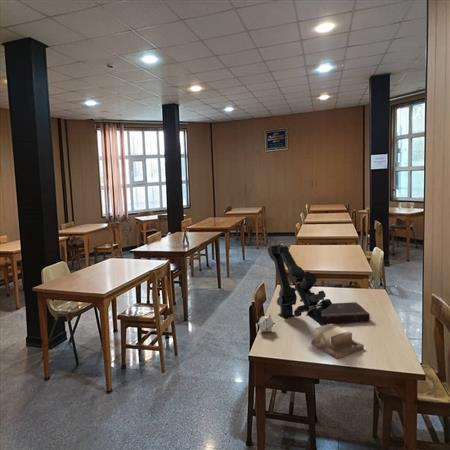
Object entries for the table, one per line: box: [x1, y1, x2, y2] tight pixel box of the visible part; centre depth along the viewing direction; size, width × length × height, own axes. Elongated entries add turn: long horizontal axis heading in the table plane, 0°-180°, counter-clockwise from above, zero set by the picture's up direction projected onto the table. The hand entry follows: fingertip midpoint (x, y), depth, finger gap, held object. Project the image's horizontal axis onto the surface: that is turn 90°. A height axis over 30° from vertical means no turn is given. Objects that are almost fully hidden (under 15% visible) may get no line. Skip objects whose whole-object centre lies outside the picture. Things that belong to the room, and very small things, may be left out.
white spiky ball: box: [257, 314, 276, 334], centre depth 176 cm, size 9×8×10 cm
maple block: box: [314, 323, 353, 352], centre depth 161 cm, size 6×10×12 cm
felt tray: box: [310, 339, 365, 360], centre depth 159 cm, size 15×15×2 cm
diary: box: [318, 301, 371, 326], centre depth 191 cm, size 19×25×5 cm
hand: (322, 324), depth 166 cm, fingers closed
